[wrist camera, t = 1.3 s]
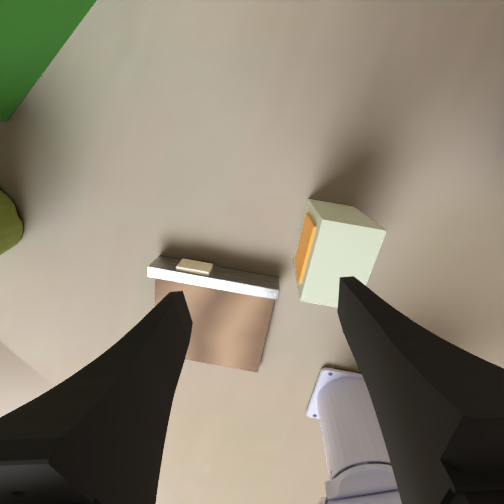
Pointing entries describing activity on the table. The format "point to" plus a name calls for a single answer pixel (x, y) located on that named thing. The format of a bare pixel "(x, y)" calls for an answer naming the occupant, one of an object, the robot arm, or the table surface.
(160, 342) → the robot arm
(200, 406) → the table surface
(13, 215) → the plant pot
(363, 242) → the product carton
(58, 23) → the hardback book
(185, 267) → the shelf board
